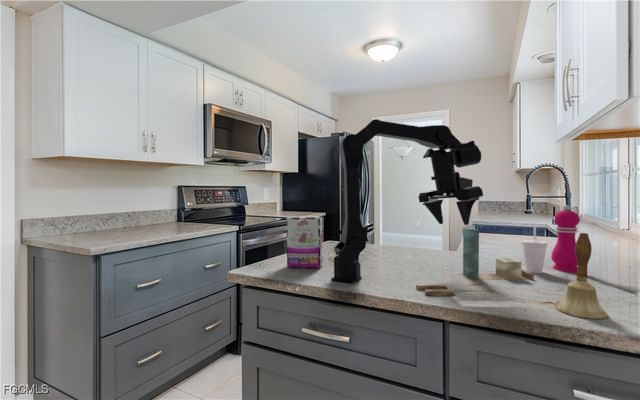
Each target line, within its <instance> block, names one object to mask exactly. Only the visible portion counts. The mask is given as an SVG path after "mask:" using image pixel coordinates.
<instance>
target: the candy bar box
mask: <svg viewBox="0 0 640 400" xmlns="http://www.w3.org/2000/svg"><path fill="white" fill-rule="evenodd" d="M285 221H286V268H288V269H289V268H290V269H321V268H322V267H323V265H324V264H323V263H324V258H323V257H324V256H323V255H324V254H323V252H324V251H323V217H322V216H319V215H318V216H317V215H316V216H315V215H314V216H313V215H312V216H310V215H309V216H306V215H305V216H288V217H286V219H285Z"/></svg>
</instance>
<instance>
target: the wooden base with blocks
mask: <svg viewBox="0 0 640 400" xmlns="http://www.w3.org/2000/svg"><path fill="white" fill-rule="evenodd" d="M462 235H463V238H462V241H463V242H462V244H463V245H462V251H463V252H462V273H458V274H459V275H460V276H462V277H463V278H465V279H466V280H468V281H471V280H472V281H474V280H475V281H476V280H478V281H480V280H481V281H483V280H484V281H489V280H490V281H493V280H496V281H502V280H503V281H534V280H535V273H530V272H527V271H526V269H525V270H524V269H522V268H521V279H504V278H502V277H500V276H498V275H496V273H479V271H480V267H479V266H480V264H479V263H480V259H479V258H480V229H477V228H471V227H470V228H463V229H462Z"/></svg>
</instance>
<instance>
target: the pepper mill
mask: <svg viewBox="0 0 640 400" xmlns="http://www.w3.org/2000/svg"><path fill="white" fill-rule="evenodd" d="M562 209H563V210H559V211H558V212H556V213H555V215H554V217H553V218H554V219H553V220H554V223H555V224H556V225H557V226H555V227H556V230H555V231H556V232H557V240H556V243H555V246H554V248H553V250H552V251H551V257H550V258H551V260H552V261H553V263H554V264H553V265H552V268H553V270H556V271H559V272H560V271H561V272H565V273H566V272H568V273H571V274H575V275H577V269H578V262H577V258H576V254H575V246H576V242H577V241H576V233H578V230H577V229H578V227H577V226H578V224H580V216H579V214H578V213H576V212H575V211H573V210H571V206H570V205H569V204H566V205H564V206H563V207H562Z"/></svg>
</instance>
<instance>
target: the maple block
mask: <svg viewBox="0 0 640 400" xmlns="http://www.w3.org/2000/svg"><path fill="white" fill-rule="evenodd" d="M521 269H522V261H520V260H518V259H516V258H507V257H505V258H502V257H501V258H495V274H496V275H498V276H500V277H502V278H504V279H521Z"/></svg>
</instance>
